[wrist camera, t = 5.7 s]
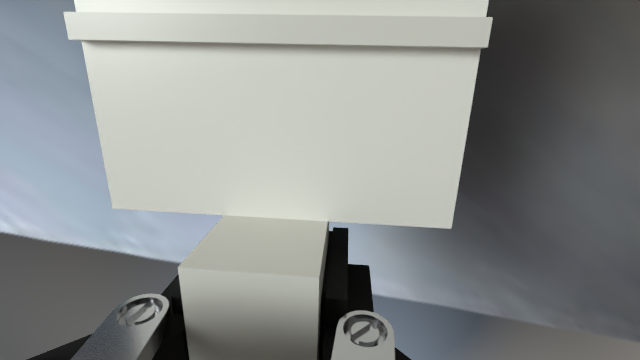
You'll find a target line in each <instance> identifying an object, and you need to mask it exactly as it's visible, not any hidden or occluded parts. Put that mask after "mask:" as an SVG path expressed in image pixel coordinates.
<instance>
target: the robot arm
mask: <svg viewBox="0 0 640 360" xmlns="http://www.w3.org/2000/svg"><path fill="white" fill-rule="evenodd" d="M27 360H189V352H188V345H187V337H186V329H185V321H184V313H183V305H182V297H181V289H180V281H179V274H178V275H177V276H176V278H175V279H174V280H173V281H172V282H171V284H170V285H169V286H168V287H167V288H166V289H165V290H164V292H163V293H162V294H161V295H158V294H144V295H140V296H136V297H134V298H131V299H128V300H126V301H125V302H123V303H121V304H120V305H118V306H117V307H116V308H115V309H114V310H113V311H112V312H111V313H110V315H109V316H108V317H107V318H106V319H105V320H104V322H103V323H102V324H101V325H100V326H99V327H98V328H97V330H96V331H95V332H94V333H93V334H91V335H88V336H86V337H83V338H81V339H78V340H76V341H73V342H70V343H68V344H65V345H63V346H60V347H58V348H55V349H53V350H50V351H48V352H46V353H43V354H40V355H37V356H35V357H32V358H30V359H27ZM319 360H411V359H410V358H408V357H407V356H406V355H404V354H403V353H402V352H400V351H399V350H398V349H397V348H395V347H394V333H393V329H392V327H391V325H390V324H389V322H388V321H387V320H386V319H384V318H383V317H382V316H380V315H378V314H376V313H374V311H373V301H372V290H371V280H370V270H369V266H368V265H354V264H348V228H335V227H333V231H329V237H328V248H327V256H326V263H325V271H324V279H323V286H322V295H321V312H320V345H319Z"/></svg>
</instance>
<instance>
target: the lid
mask: <svg viewBox="0 0 640 360" xmlns="http://www.w3.org/2000/svg"><path fill="white" fill-rule="evenodd" d="M74 3H75V8H76V12H64V18H65V23H66V28H67V33H68V38H69V39H70V40H78V41H82V46H83V51H84V56H85V62H86V67H87V73H88V78H89V83H90V89H91V94H92V100H93V105H94V110H95V116H96V121H97V126H98V132H99V137H100V143H101V148H102V153H103V159H104V164H105V170H106V175H107V180H108V186H109V191H110V196H111V202H112V207H113V209H128V210H145V211H162V212H179V213H195V214H212V215H224V216H223V217H222V218H221V219H220V221H219V222H218V223H217V224H216V225H215V226H214V227H213V228H212V230H211V231H210V232H209V233H208V234H207V235H206V236H205V237H204V239H203V240H202V241H201V242H200V243H199V244H198V245H197V246H196V248H195V249H194V250H193V251H192V252H191V253H190V254H189V255H188V256H187V258H186V259H185V260H184V261H183V262H182V263H181V264H180V265H179V267H178V273H179V281H180V289H181V297H182V305H183V313H184V321H185V329H186V337H187V345H188V352H189V360H319V345H320V312H321V295H322V286H323V279H324V271H325V263H326V256H327V248H328V237H329V222H346V223H363V224H380V225H396V226H413V227H430V228H447V229H451V228H452V222H453V216H454V210H455V204H456V197H457V191H458V185H459V179H460V173H461V167H462V161H463V155H464V149H465V143H466V137H467V130H468V124H469V118H470V112H471V106H472V100H473V94H474V88H475V82H476V76H477V70H478V63H479V57H480V51H481V49H482V48H487V47H488V43H489V37H490V32H491V26H492V20H493V17H486V15H487V9H488V3H489V0H74Z"/></svg>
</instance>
